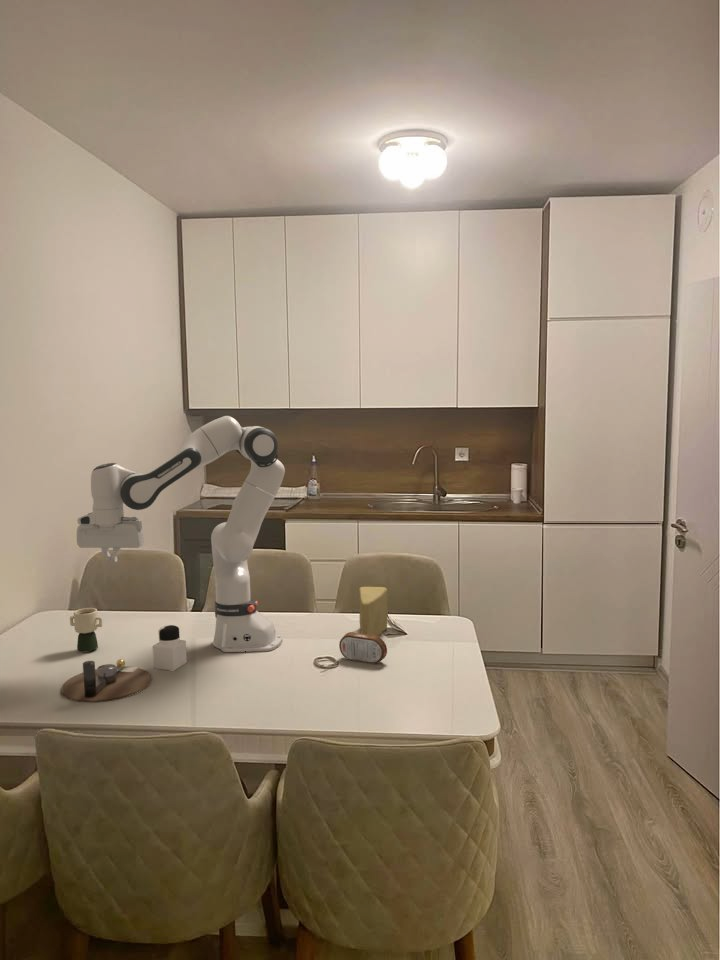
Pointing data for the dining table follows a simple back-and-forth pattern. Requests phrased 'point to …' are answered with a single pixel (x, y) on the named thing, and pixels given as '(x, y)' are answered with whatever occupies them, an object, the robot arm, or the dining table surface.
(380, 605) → the cheese
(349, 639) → the tin
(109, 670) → the crank lever
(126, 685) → the stand
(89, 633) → the character mug
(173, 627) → the medicine bottle
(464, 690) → the dining table surface
